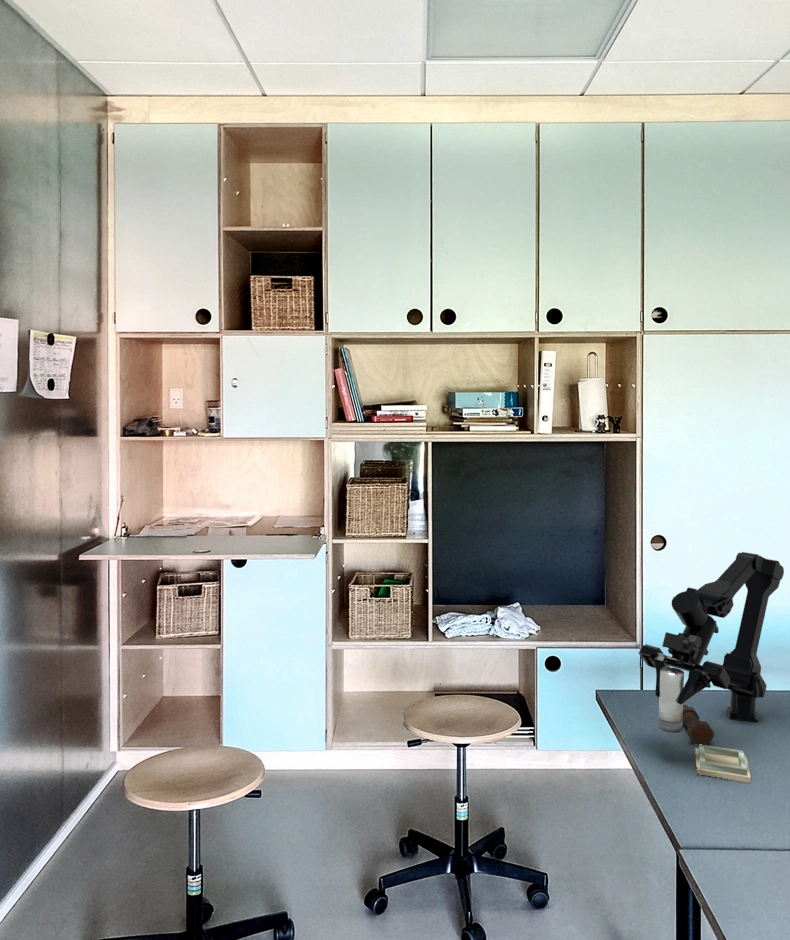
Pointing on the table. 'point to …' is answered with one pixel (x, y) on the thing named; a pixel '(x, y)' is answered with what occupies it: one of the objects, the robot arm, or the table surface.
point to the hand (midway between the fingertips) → (667, 699)
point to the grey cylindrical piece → (670, 700)
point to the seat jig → (722, 763)
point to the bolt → (696, 727)
